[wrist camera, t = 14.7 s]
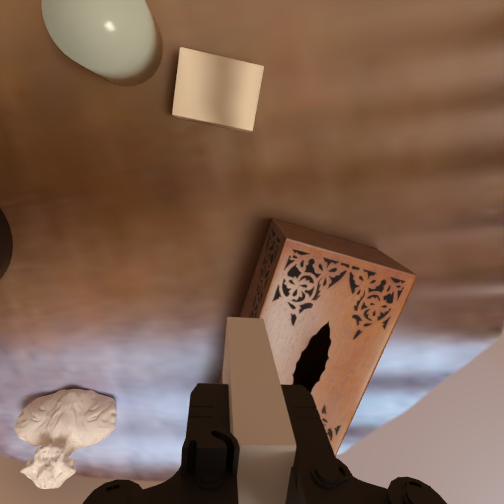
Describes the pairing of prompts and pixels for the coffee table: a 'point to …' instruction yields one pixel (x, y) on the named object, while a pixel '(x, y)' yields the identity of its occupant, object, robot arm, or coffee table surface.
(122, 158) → the coffee table surface
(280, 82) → the coffee table surface
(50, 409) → the bust
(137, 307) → the coffee table surface
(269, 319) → the tissue box cover
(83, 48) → the pale green egg
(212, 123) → the birch box
